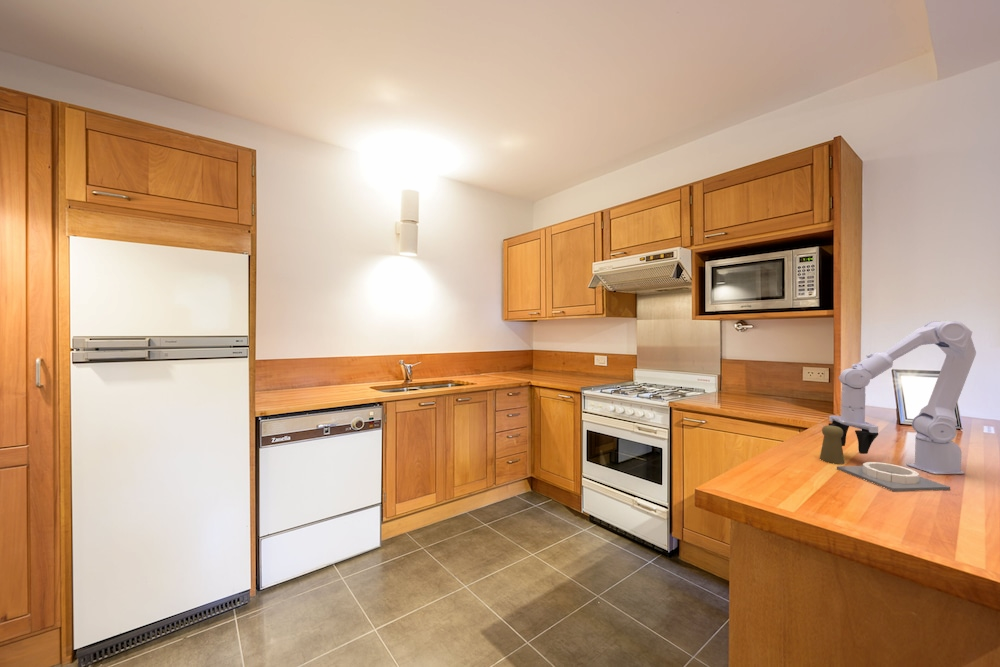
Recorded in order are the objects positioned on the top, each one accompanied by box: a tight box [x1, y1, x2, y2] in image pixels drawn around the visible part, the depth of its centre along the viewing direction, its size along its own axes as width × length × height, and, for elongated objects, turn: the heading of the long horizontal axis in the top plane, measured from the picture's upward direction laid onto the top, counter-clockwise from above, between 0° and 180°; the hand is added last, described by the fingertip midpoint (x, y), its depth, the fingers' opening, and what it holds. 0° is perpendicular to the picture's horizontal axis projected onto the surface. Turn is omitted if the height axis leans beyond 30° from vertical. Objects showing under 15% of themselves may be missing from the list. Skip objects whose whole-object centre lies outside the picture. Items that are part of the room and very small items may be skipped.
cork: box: [819, 424, 845, 465], centre depth 127 cm, size 6×6×11 cm
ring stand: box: [836, 461, 951, 492], centre depth 112 cm, size 16×16×3 cm
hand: (851, 449), depth 127 cm, fingers open, 7 cm apart
